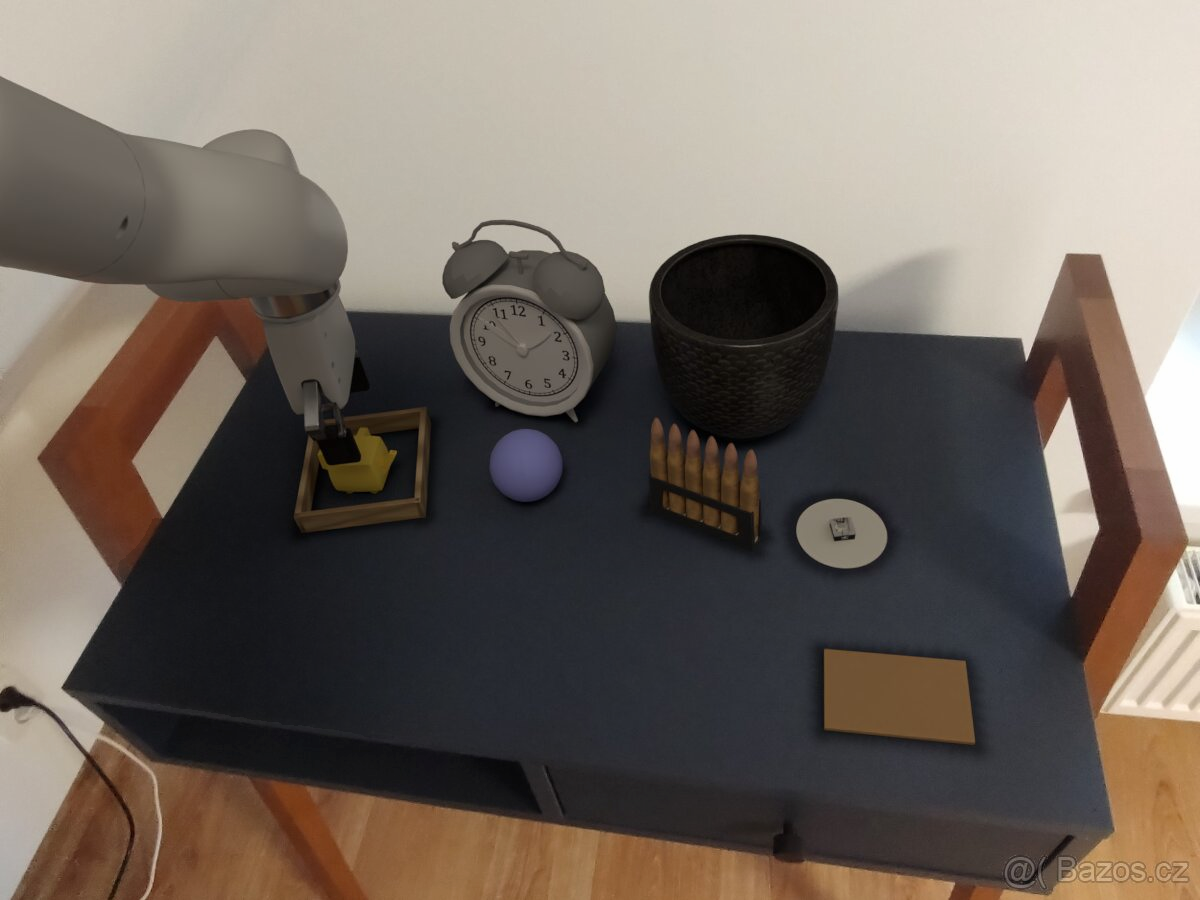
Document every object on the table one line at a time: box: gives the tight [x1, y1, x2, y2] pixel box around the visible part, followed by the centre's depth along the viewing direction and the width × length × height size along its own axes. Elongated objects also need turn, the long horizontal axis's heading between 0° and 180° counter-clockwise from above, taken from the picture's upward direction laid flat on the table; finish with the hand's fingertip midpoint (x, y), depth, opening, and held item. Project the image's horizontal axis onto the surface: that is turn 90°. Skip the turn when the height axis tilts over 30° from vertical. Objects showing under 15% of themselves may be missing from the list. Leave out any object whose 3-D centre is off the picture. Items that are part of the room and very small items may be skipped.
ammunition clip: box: [648, 417, 763, 552], centre depth 83 cm, size 11×2×12 cm, turn 60°
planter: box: [648, 233, 840, 443], centre depth 91 cm, size 17×17×16 cm
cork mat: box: [823, 648, 976, 746], centre depth 73 cm, size 7×11×1 cm, turn 81°
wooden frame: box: [293, 406, 432, 534], centre depth 94 cm, size 13×12×2 cm
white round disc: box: [795, 498, 888, 569], centre depth 84 cm, size 8×8×1 cm
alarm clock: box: [441, 219, 618, 423], centre depth 93 cm, size 16×9×22 cm, turn 69°
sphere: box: [489, 428, 563, 503], centre depth 89 cm, size 7×7×7 cm
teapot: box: [318, 428, 398, 494], centre depth 93 cm, size 8×6×5 cm
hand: (350, 424), depth 90 cm, fingers open, 9 cm apart
